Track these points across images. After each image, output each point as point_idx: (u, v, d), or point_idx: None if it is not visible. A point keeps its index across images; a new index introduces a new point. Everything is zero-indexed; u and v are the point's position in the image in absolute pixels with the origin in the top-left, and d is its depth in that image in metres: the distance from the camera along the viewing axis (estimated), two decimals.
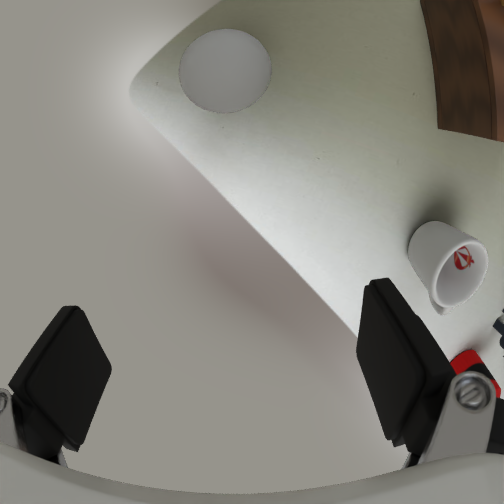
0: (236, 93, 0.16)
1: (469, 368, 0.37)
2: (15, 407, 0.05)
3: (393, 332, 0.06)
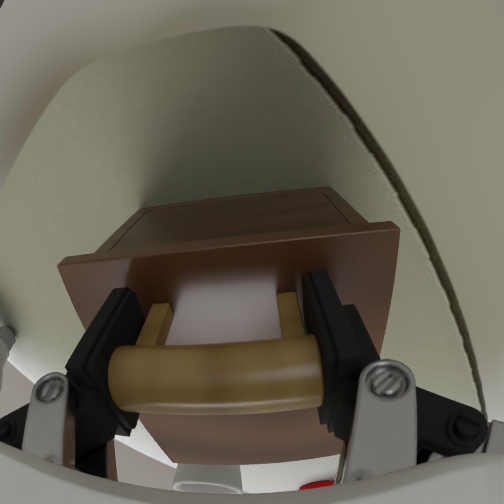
0: None
1: None
2: (73, 390, 0.06)
3: (315, 317, 0.07)
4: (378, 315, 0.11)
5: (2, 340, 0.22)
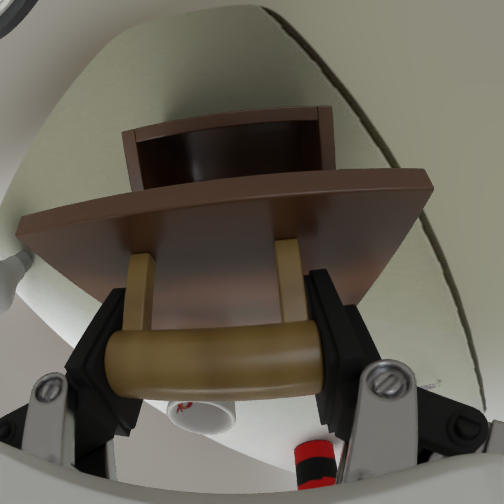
0: None
1: (307, 460, 0.42)
2: (72, 390, 0.06)
3: (316, 317, 0.07)
4: (384, 254, 0.10)
5: (20, 260, 0.27)
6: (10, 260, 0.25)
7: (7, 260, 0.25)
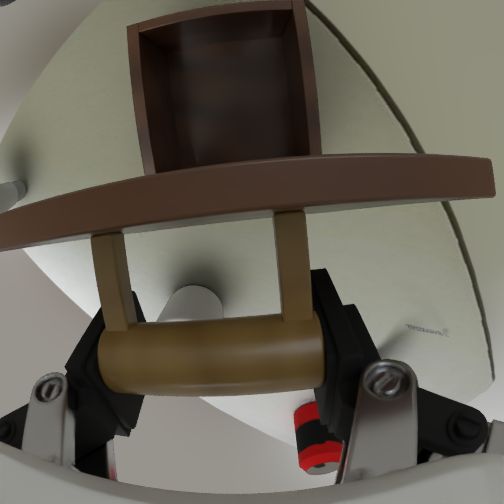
0: None
1: (308, 422, 0.41)
2: (72, 390, 0.06)
3: None
4: None
5: (14, 186, 0.26)
6: (5, 184, 0.24)
7: None
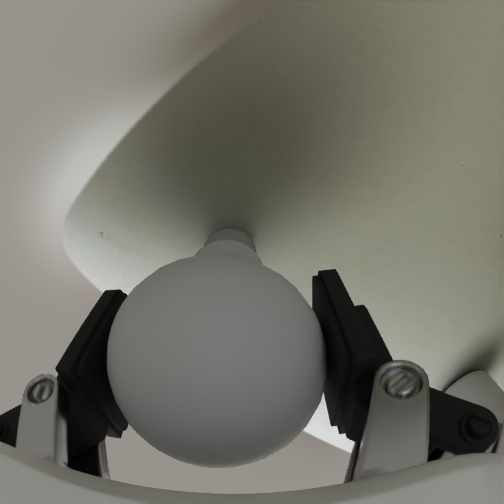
0: None
1: None
2: (63, 392, 0.05)
3: (328, 319, 0.07)
4: None
5: None
6: (242, 253, 0.11)
7: (235, 253, 0.10)
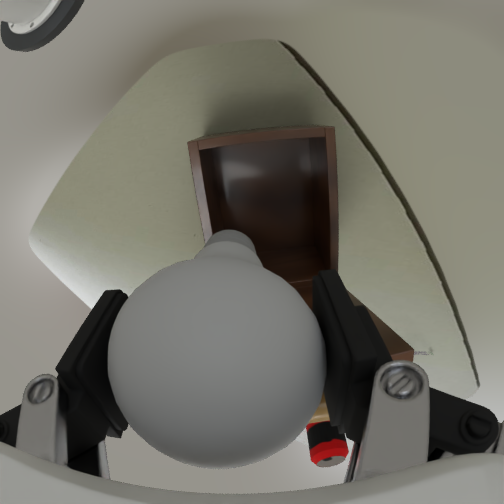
0: None
1: (317, 424, 0.50)
2: (63, 392, 0.05)
3: (328, 318, 0.07)
4: None
5: None
6: (242, 254, 0.11)
7: (235, 254, 0.10)
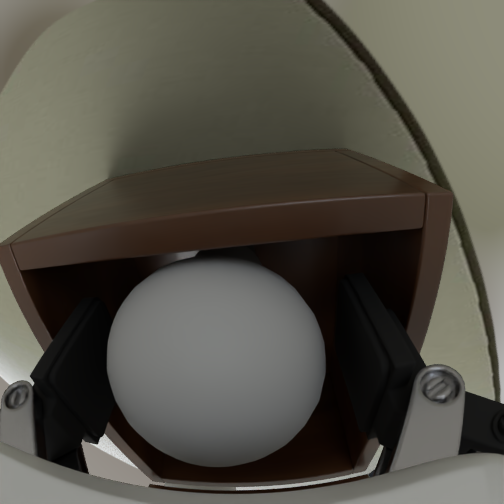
0: None
1: None
2: (37, 399, 0.05)
3: (361, 324, 0.07)
4: None
5: (253, 254, 0.12)
6: (241, 253, 0.11)
7: (235, 254, 0.10)
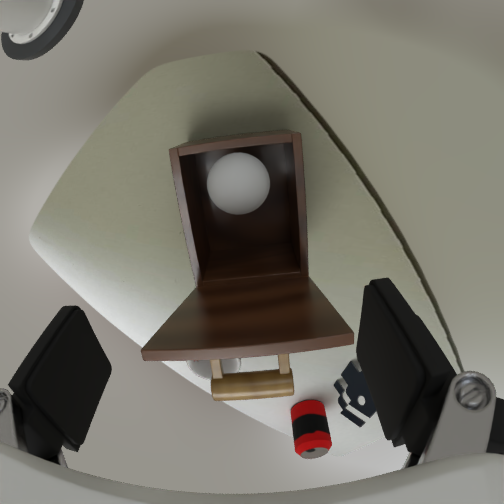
0: (246, 208, 0.27)
1: (302, 416, 0.53)
2: (15, 407, 0.05)
3: (393, 332, 0.06)
4: None
5: None
6: None
7: None
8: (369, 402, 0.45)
